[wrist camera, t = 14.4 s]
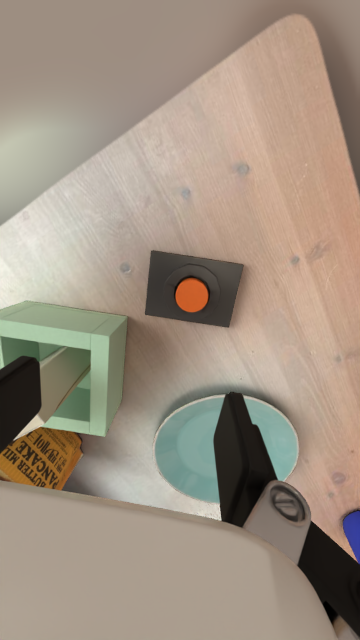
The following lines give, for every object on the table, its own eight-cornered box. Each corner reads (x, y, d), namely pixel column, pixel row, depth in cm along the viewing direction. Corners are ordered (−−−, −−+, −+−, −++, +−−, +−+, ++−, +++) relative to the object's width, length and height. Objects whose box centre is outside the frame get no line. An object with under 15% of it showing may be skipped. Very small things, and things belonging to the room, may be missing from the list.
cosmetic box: (66, 377, 32) (-3, 449, 21) (47, 353, 31) (-38, 416, 20) (100, 359, 31) (46, 426, 20) (81, 334, 30) (12, 389, 18)
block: (146, 312, 30) (141, 319, 27) (152, 250, 27) (148, 250, 24) (227, 324, 29) (231, 333, 27) (241, 264, 27) (247, 266, 24)
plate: (316, 401, 33) (327, 415, 30) (264, 499, 40) (269, 517, 37) (170, 368, 32) (168, 379, 29) (144, 473, 39) (141, 490, 37)
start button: (174, 305, 26) (173, 309, 25) (178, 275, 25) (177, 277, 24) (204, 310, 26) (205, 314, 25) (209, 280, 25) (211, 282, 24)
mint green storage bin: (33, 386, 34) (-4, 420, 28) (26, 300, 30) (-21, 316, 23) (121, 400, 34) (105, 437, 28) (127, 316, 30) (109, 336, 23)
